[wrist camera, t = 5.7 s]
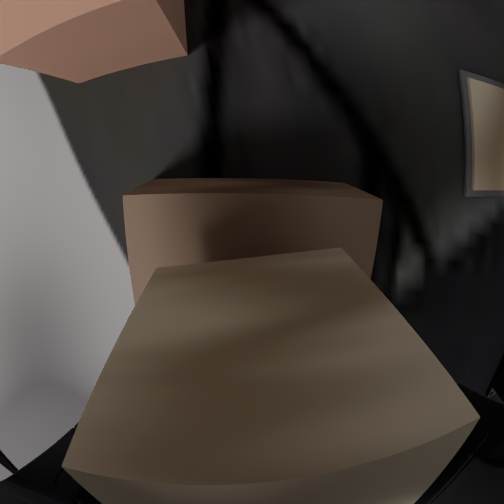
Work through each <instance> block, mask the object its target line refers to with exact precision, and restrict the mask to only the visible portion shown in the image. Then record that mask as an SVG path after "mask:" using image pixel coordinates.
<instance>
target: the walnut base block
mask: <svg viewBox="0 0 504 504" xmlns="http://www.w3.org/2000/svg"><path fill="white" fill-rule="evenodd" d="M382 204H383V200H382V199H380V198H378V197H376V196H373V195H371V194H369V193H367V192H364V191H362V190H360V189H357V188H355V187H353V186H350V185H348V184H346V183H341V182H326V181H309V180H288V179H257V178H178V179H153V180H151V181H149V182H147V183H145V184H143V185H141V186H139V187H137V188H135V189H133V190H132V191H130V192H128V193H126V194H124V195H123V209H124V221H125V232H126V242H127V251H128V259H129V267H130V274H131V281H132V287H133V294H134V300H135V305H136V303H137V301H138V300H139V298H140V296H141V294H142V292H143V290H144V289H145V287H146V285H147V283H148V281H149V280H150V278H151V276H152V274H153V273H154V271H155V269H156V268H159V267H169V266H178V265H187V264H197V263H206V262H215V261H224V260H233V259H242V258H251V257H260V256H269V255H278V254H287V253H296V252H305V251H314V250H322V249H331V248H340V247H341V248H342V249H343V250H344V251H345V252H346V253H347V254H348V255H349V257H350V258H351V259H352V260H353V261H354V262H355V263H356V264H357V265H358V266H359V267H360V268H361V270H362V271H363V272H364V273H365V274H366V275H367V276H368V277H369V278H370V280H371V275H372V269H373V264H374V258H375V253H376V247H377V240H378V234H379V227H380V220H381V212H382Z"/></svg>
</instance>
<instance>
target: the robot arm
mask: <svg viewBox="0 0 504 504" xmlns="http://www.w3.org/2000/svg"><path fill="white" fill-rule="evenodd" d="M455 383H456V384H457V382H456V381H455ZM457 385H458V387H459V388H460V389H461V391H462V392H463V393H464V395H465V396H466V398H467V399H468V400H469V402H470V403H471V405H472V406H473V407H474V409H475V410H476V412H477V413H478V414H479V416H480V419H479V420H478V422H477V423H476V425H475V427H474V428H473V430H472V431H471V433H470V434H469V436H468V437H467V439H466V440H465V442H464V443H463V445H462V446H461V447H460V449H459V450H458V452H457V453H456V454H455V456H454V457H453V458H452V460H451V461H450V462H449V464H448V465H447V466H446V467H445V469H444V470H443V471H442V472H441V474H440V475H439V476H438V477H437V478H436V480H435V481H434V482H433V483H432V484H431V485H430V487H429V488H428V489H427V490H426V491H425V492H424V493H423V494H422V496H421V497H420V498H419V499H418V500H417V501H416V502H415V503H414V504H504V405H503V404H501V403H498V402H496V401H494V400H491V399H489V397H491V396H493V395H494V394H496V393H497V394H498V395H499V397H500V398H501V399H502V400H503V402H504V357H503V359H502V361H501V363H500V366H499V368H498V370H497V372H496V374H495V376H494V378H493V380H492V382H491V384H490V386H489V388H488V390H487V392H486V396H487V397H488V398H487V397H485V396H482V395H480V394H478V393H477V392H475V391H473V390H471V389H469V388H467V387H465V386H463V385H461V384H457ZM78 424H79V422H78V423H77V424H76V425H75V427H74V428H72V429H71V430H70V431H68V432H67V433H66V434H65V435H64V436H63V437H62V438H61V439H59V440H58V441H57V442H56V443H55V444H54V445H52V446H51V447H50V448H49V449H47V450H46V451H45V452H43V453H42V454H41V455H39V456H38V457H37V458H35V459H34V460H33V461H31V462H30V463H28V464H27V465H26V466H24V467H23V468H21V469H20V470H18V471H17V472H16V473H14V474H13V475H11V476H10V477H8V478H7V479H5V480H3V481H0V504H102V503H101V502H100V501H98V500H97V499H96V498H95V497H94V496H92V495H91V494H90V493H89V492H88V491H87V490H86V489H85V488H83V487H82V486H81V485H80V484H79V483H78V482H77V481H76V480H75V479H74V478H73V477H72V476H71V475H70V474H69V473H67V472H66V471H65V470H64V469H63V468H62V467H61V466H62V464H63V461H64V458H65V456H66V453H67V451H68V448H69V446H70V443H71V441H72V438H73V436H74V433H75V431H76V428H77V426H78Z"/></svg>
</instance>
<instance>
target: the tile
mask: <svg viewBox="0 0 504 504" xmlns="http://www.w3.org/2000/svg"><path fill="white" fill-rule="evenodd" d="M458 73H459V80H460V87H461V96H462V106H463V118H464V136H465V185H464V197H497V196H504V84H503V83H500V82H498V81H495V80H492V79H489V78H486V77H483V76H480V75H477V74H474V73H471V72H468V71H464V70H461V69H460V70H458Z"/></svg>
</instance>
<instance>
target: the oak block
mask: <svg viewBox="0 0 504 504" xmlns="http://www.w3.org/2000/svg"><path fill="white" fill-rule="evenodd" d="M479 419H480V416H479V414H478V413H477V412H476V410H475V409H474V407H473V406H472V405H471V403H470V402H469V400H468V399H467V398H466V396H465V395H464V393H463V392H462V391H461V389H460V388H459V387H458V385H457V384H456V383H455V381H454V380H453V379H452V377H451V376H450V375H449V373H448V372H447V371H446V370H445V368H444V367H443V366H442V364H441V363H440V362H439V360H438V359H437V358H436V357H435V355H434V354H433V353H432V352H431V350H430V349H429V348H428V347H427V345H426V344H425V343H424V342H423V340H422V339H421V338H420V337H419V336H418V334H417V333H416V332H415V331H414V329H413V328H412V327H411V326H410V325H409V323H408V322H407V321H406V320H405V319H404V317H403V316H402V315H401V314H400V313H399V312H398V310H397V309H396V308H395V307H394V306H393V305H392V303H391V302H390V301H389V300H388V299H387V298H386V297H385V295H384V294H383V293H382V292H381V291H380V290H379V289H378V287H377V286H376V285H375V284H374V283H373V282H372V281H371V280H370V278H369V277H368V276H367V275H366V274H365V273H364V272H363V271H362V270H361V268H360V267H359V266H358V265H357V264H356V263H355V262H354V261H353V260H352V259H351V258H350V257H349V255H348V254H347V253H346V252H345V251H344V250H343V249H342V248H341V247H340V248H331V249H322V250H314V251H305V252H296V253H287V254H278V255H269V256H260V257H251V258H242V259H233V260H224V261H215V262H206V263H197V264H187V265H178V266H169V267H159V268H156V269H155V271H154V273H153V274H152V276H151V278H150V280H149V281H148V283H147V285H146V287H145V289H144V290H143V292H142V294H141V296H140V298H139V300H138V301H137V303H136V305H135V307H134V309H133V311H132V313H131V315H130V316H129V318H128V320H127V322H126V324H125V326H124V328H123V330H122V332H121V334H120V336H119V338H118V340H117V342H116V344H115V346H114V348H113V350H112V352H111V354H110V356H109V358H108V360H107V362H106V364H105V366H104V368H103V370H102V372H101V374H100V376H99V379H98V381H97V383H96V385H95V387H94V390H93V392H92V394H91V396H90V398H89V401H88V403H87V405H86V407H85V410H84V412H83V414H82V417H81V419H80V421H79V424H78V426H77V428H76V431H75V433H74V436H73V438H72V441H71V443H70V446H69V448H68V451H67V453H66V456H65V458H64V461H63V464H62V466H61V467H62V468H63V469H64V470H65V471H66V472H67V473H69V474H70V475H71V476H72V477H73V478H74V479H75V480H76V481H77V482H78V483H79V484H80V485H81V486H82V487H83V488H85V489H86V490H87V491H88V492H89V493H90V494H91V495H92V496H94V497H95V498H96V499H97V500H98V501H100V502H101V503H102V504H414V503H415V502H416V501H417V500H418V499H419V498H420V497H421V496H422V494H423V493H424V492H425V491H426V490H427V489H428V488H429V487H430V485H431V484H432V483H433V482H434V481H435V480H436V478H437V477H438V476H439V475H440V474H441V472H442V471H443V470H444V469H445V467H446V466H447V465H448V464H449V462H450V461H451V460H452V458H453V457H454V456H455V454H456V453H457V452H458V450H459V449H460V447H461V446H462V445H463V443H464V442H465V440H466V439H467V437H468V436H469V434H470V433H471V431H472V430H473V428H474V427H475V425H476V423H477V422H478V420H479Z"/></svg>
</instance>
